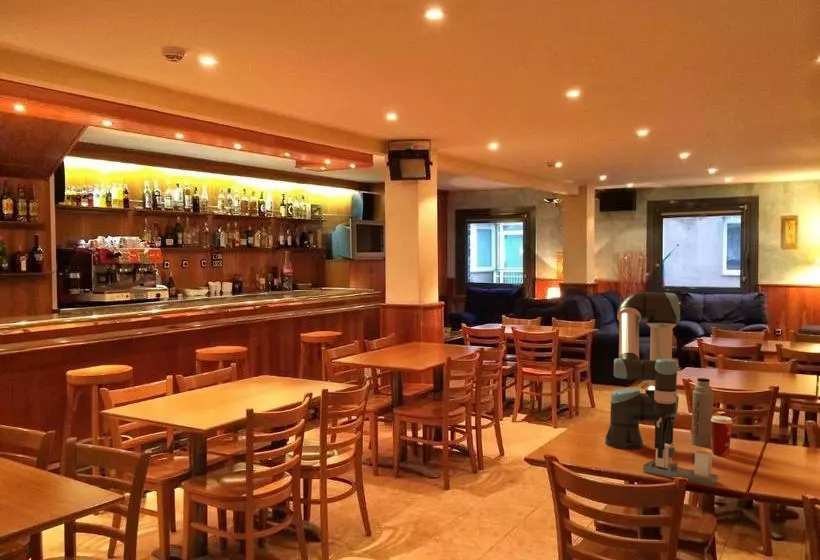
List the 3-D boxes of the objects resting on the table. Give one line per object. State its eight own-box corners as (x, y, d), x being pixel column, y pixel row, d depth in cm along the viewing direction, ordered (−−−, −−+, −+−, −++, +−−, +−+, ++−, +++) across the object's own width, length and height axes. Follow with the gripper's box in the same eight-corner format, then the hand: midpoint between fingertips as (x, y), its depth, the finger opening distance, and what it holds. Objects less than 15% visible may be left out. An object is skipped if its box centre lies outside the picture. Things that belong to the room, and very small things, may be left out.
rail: (643, 472, 256) (644, 443, 256) (650, 467, 262) (651, 440, 261) (711, 486, 241) (712, 456, 241) (717, 482, 246) (718, 452, 246)
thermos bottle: (697, 446, 292) (699, 380, 291) (687, 441, 300) (689, 377, 299) (715, 446, 293) (717, 380, 292) (705, 441, 301) (707, 377, 300)
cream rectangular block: (655, 465, 255) (655, 444, 255) (659, 463, 258) (660, 442, 258) (670, 469, 251) (671, 447, 251) (674, 466, 255) (675, 444, 254)
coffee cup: (734, 458, 276) (735, 420, 276) (711, 456, 278) (713, 419, 277) (728, 452, 285) (730, 416, 284) (707, 450, 286) (708, 414, 286)
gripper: (666, 406, 245) (664, 472, 246) (683, 399, 258) (681, 462, 259) (645, 403, 250) (644, 468, 251) (663, 396, 263) (661, 458, 264)
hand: (663, 464), depth 255 cm, fingers closed on cream rectangular block, 4 cm apart
